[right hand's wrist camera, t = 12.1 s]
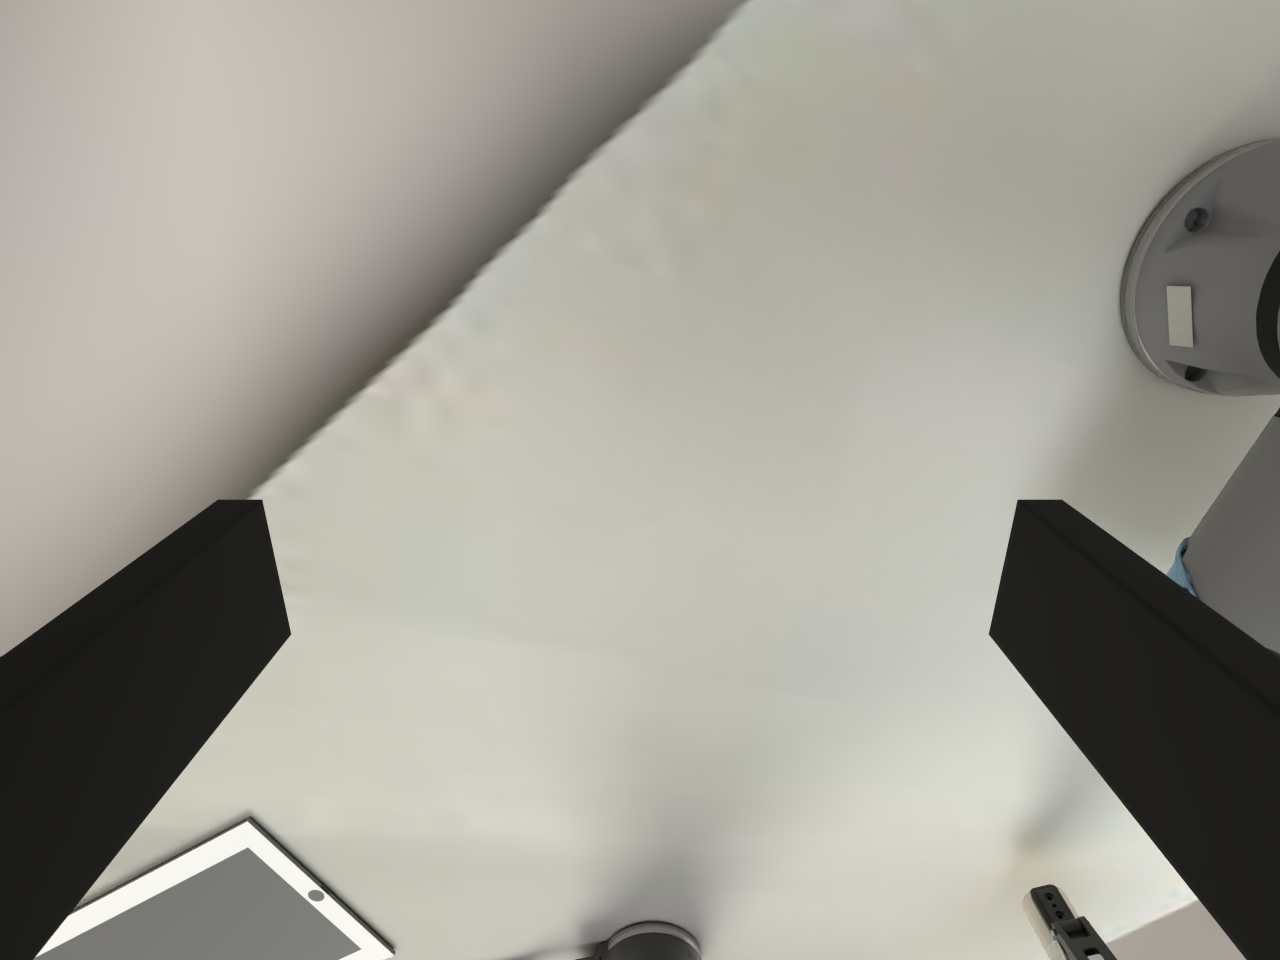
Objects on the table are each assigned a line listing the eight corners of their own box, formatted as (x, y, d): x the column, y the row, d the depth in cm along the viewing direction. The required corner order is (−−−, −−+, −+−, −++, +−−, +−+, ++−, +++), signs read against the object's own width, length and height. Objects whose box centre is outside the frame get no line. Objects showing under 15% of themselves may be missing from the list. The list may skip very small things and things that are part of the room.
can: (1075, 893, 61) (1104, 940, 57) (1048, 921, 62) (1075, 969, 58) (1039, 880, 60) (1066, 927, 57) (1012, 908, 62) (1037, 956, 58)
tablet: (156, 1060, 75) (154, 1064, 75) (0, 947, 68) (-3, 952, 68) (395, 951, 69) (394, 955, 68) (248, 816, 62) (246, 820, 62)
